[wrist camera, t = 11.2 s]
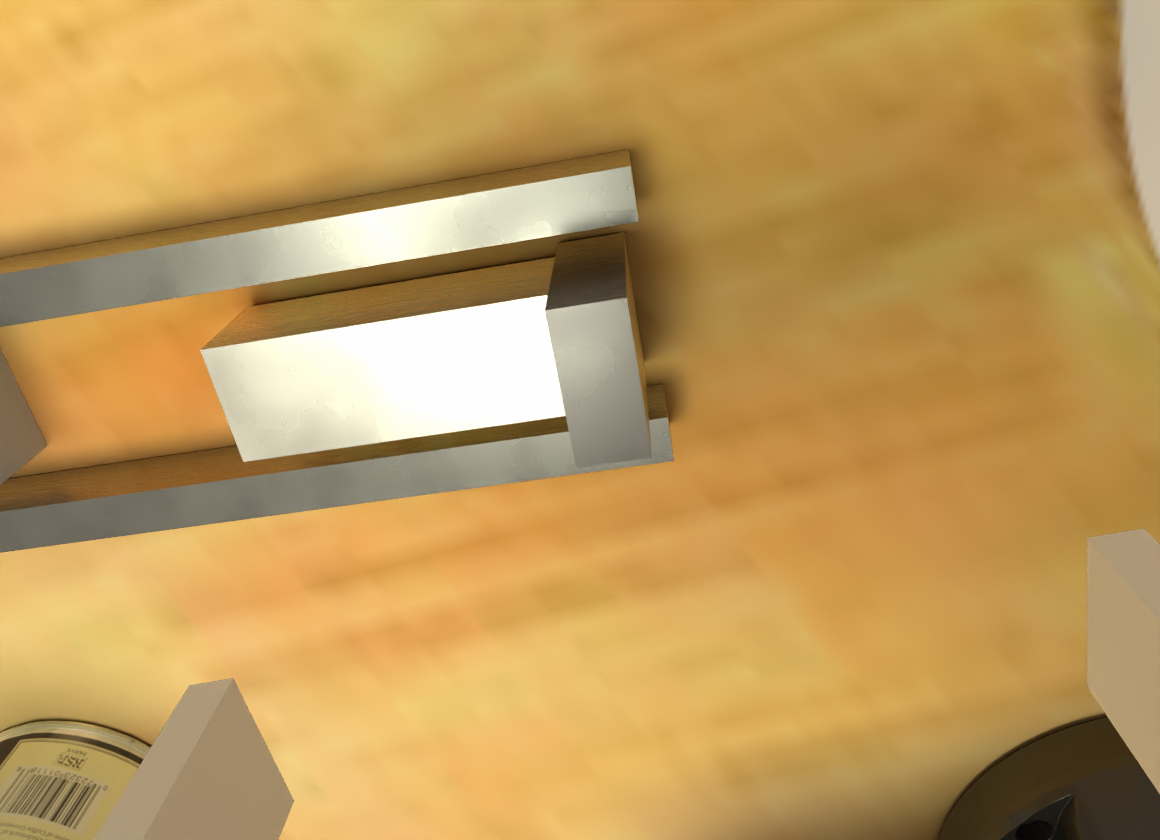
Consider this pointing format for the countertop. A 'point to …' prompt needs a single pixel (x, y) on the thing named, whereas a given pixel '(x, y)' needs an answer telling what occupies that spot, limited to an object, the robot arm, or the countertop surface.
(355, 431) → the silver metal slider block
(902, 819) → the countertop surface
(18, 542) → the channel
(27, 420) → the block
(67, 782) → the coffee can
